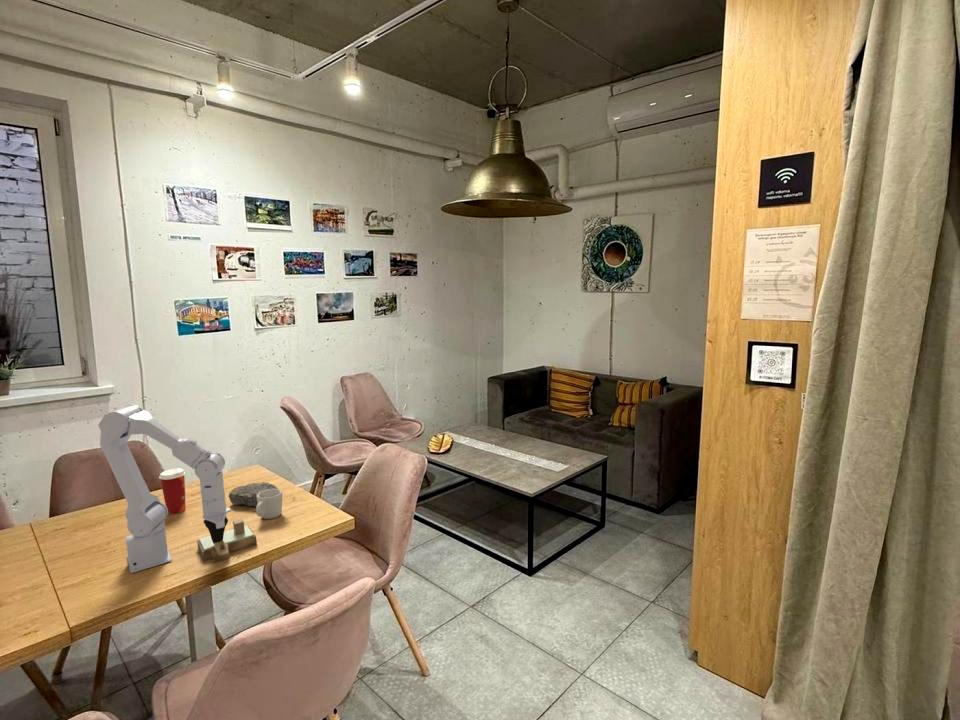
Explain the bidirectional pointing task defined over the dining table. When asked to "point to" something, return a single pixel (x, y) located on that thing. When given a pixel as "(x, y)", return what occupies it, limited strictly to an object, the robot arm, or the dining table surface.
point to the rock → (248, 493)
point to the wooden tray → (231, 548)
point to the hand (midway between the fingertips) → (217, 543)
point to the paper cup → (174, 490)
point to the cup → (269, 503)
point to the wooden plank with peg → (221, 548)
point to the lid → (229, 535)
